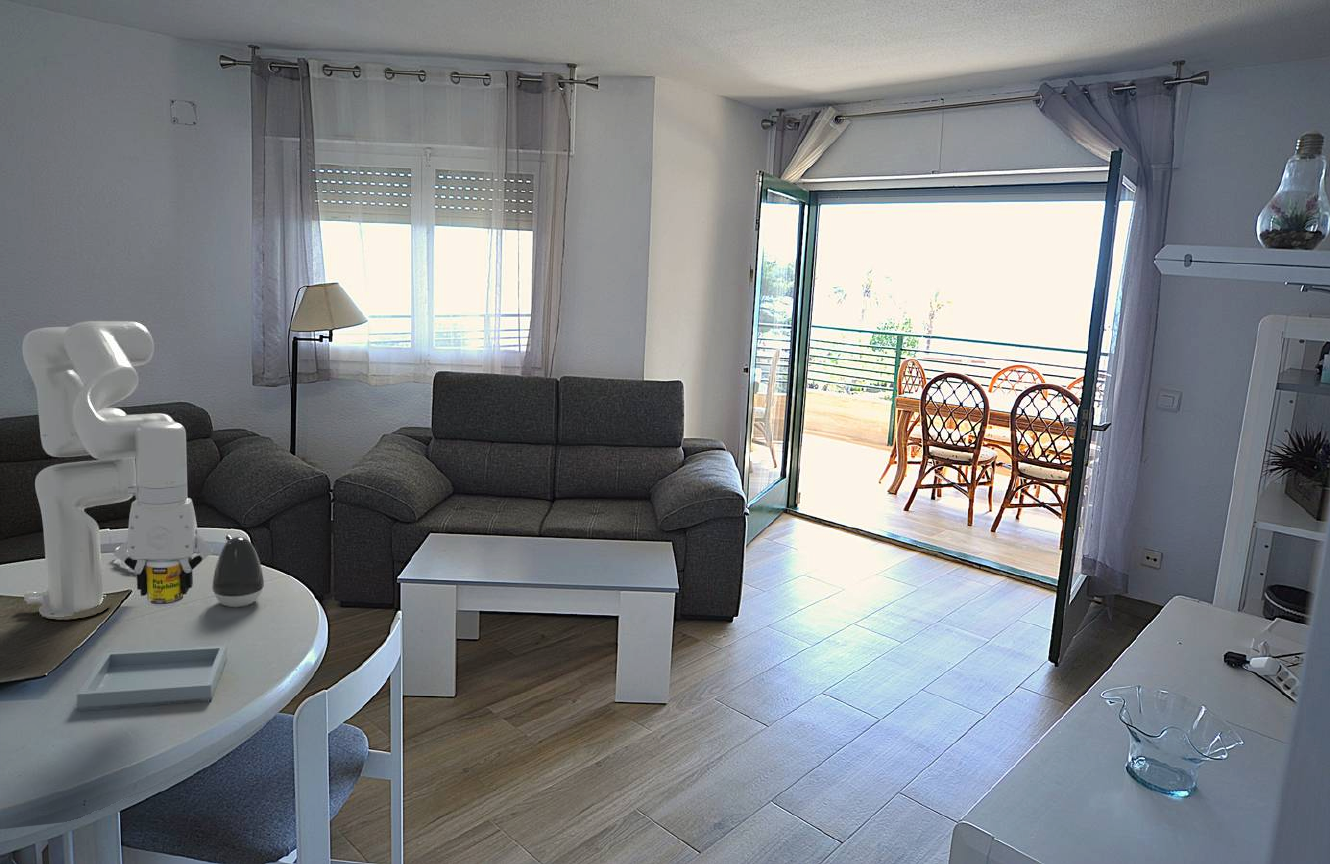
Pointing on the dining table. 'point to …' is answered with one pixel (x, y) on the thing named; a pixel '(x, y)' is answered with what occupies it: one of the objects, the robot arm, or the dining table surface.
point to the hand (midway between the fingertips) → (165, 591)
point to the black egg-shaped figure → (237, 574)
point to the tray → (153, 678)
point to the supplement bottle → (163, 582)
